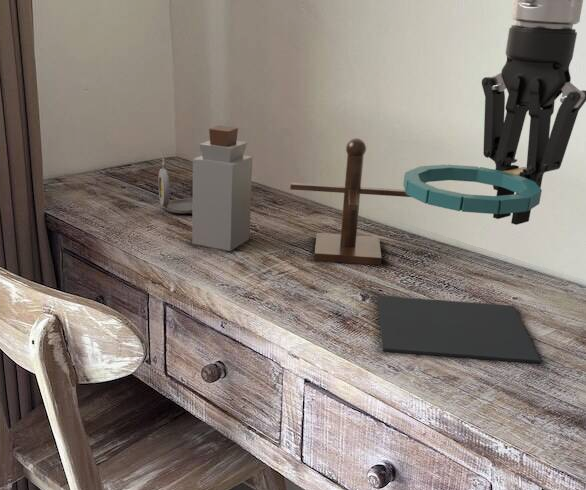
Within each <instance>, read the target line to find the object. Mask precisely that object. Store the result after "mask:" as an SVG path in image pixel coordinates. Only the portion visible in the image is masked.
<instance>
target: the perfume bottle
mask: <svg viewBox="0 0 586 490" xmlns="http://www.w3.org/2000/svg"><path fill="white" fill-rule="evenodd" d="M238 132H239V128H238V127H233V126H232V127H231V126H226V125H216V126H214V127H210V128H208V134H209V140H207V141H204V142H201V143H199V144H198V145H199V148H200V152H201V155H199V156H197V157H194V158H192V200H193V206H192V213H191V214H192V216H191V217H192V218H191V219H192V221H191V223H192V224H191V225H192V226H191V241H192V242H191V244H193V245H198V246H202V247H208V248H213V249H218V250H223V251H228V252H231V251H233V250H235V249H236V248H237V247H239V246H241V245H243V244H244V243H246V242H247V241H249V240H250V238H251V237H250V234H251V209H252V180H253V179H252V178H253V156H251V155H246V154H245V150H246V148H247V144H248V142H247V141H242V140H241V141H240V140H238Z"/></svg>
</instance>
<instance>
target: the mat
mask: <svg viewBox="0 0 586 490" xmlns="http://www.w3.org/2000/svg"><path fill="white" fill-rule="evenodd" d="M377 307H378V317H379V326H380V334H381V336H380V337H381V346H382V352H390V353H401V354H415V355H426V356H439V357H451V358H466V359H475V360H489V361H490V360H491V361H504V362H516V363H528V364H529V363H530V364H541V359H540V356H539V354H538V352H537V350H536V348H535V346H534V344H533V342H532V340H531V338H530V336H529V334H528V332H527V330H526V327H525V326H524V324H523V322H522V320H521V318H520V316H519V313H518V312H517V310H516V307H515V305H509V304H495V303H494V304H493V303H480V302H479V303H478V302H467V301H452V300H438V299H425V298H414V297H413V298H412V297H399V296H385V295H384V296H383V295H377Z"/></svg>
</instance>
